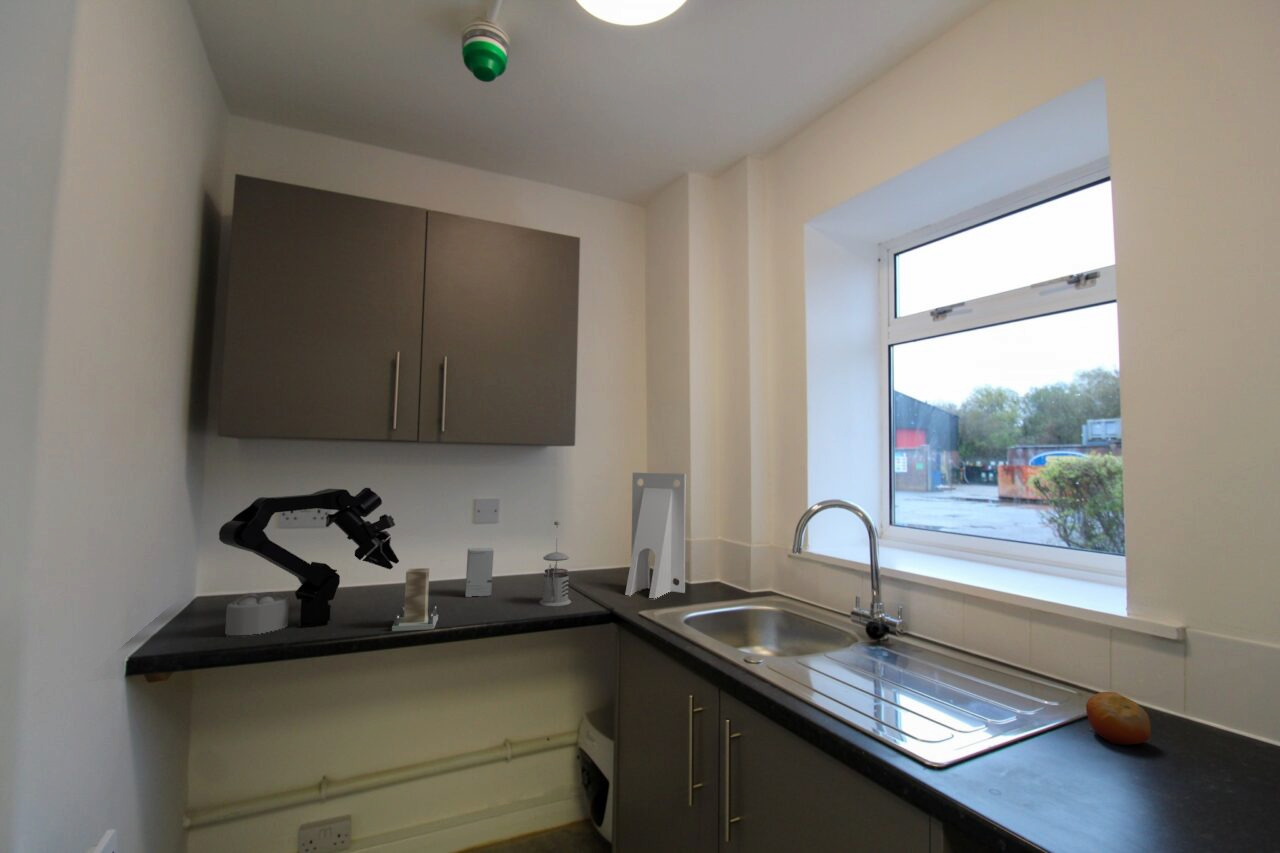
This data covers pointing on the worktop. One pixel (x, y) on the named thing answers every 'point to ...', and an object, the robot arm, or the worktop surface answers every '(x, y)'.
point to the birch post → (416, 595)
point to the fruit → (1118, 719)
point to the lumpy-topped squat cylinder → (257, 614)
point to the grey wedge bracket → (658, 533)
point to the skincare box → (479, 572)
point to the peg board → (428, 623)
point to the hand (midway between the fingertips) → (395, 565)
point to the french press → (555, 581)
